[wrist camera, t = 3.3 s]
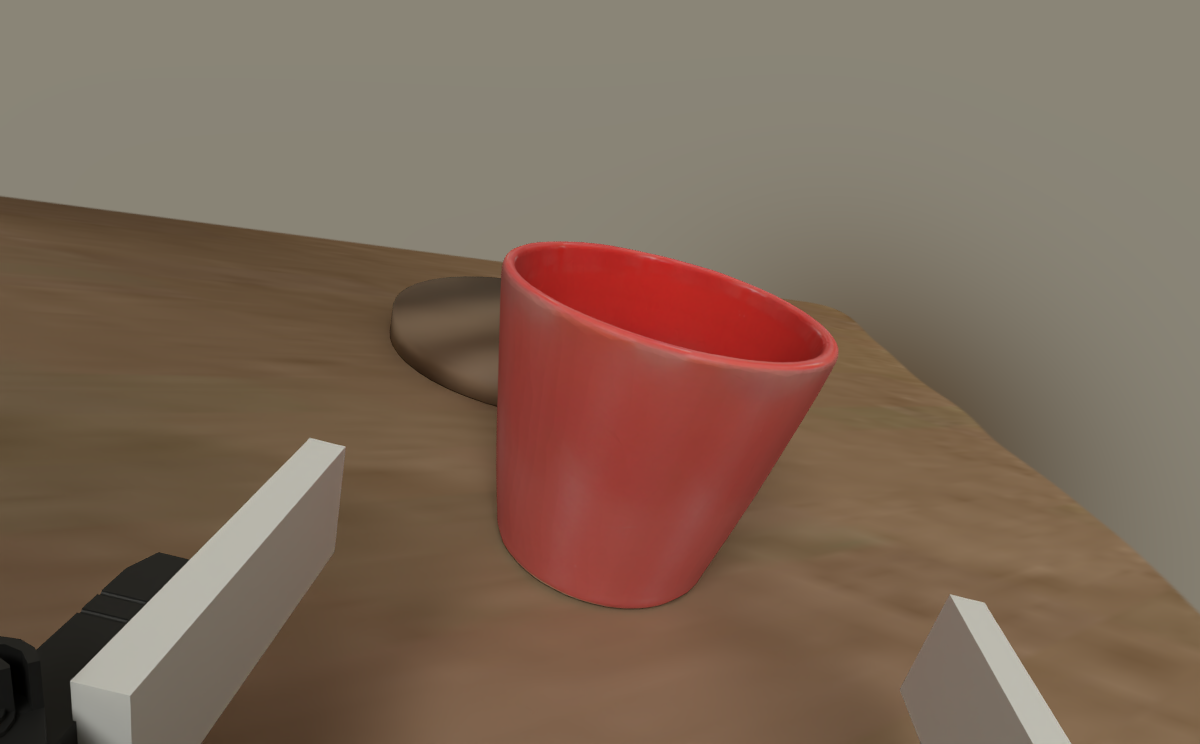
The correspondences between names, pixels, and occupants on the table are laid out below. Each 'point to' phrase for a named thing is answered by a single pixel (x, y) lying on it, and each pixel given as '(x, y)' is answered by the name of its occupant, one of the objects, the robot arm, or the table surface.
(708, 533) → the flower pot
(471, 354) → the brown plate
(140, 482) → the table surface
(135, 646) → the robot arm
